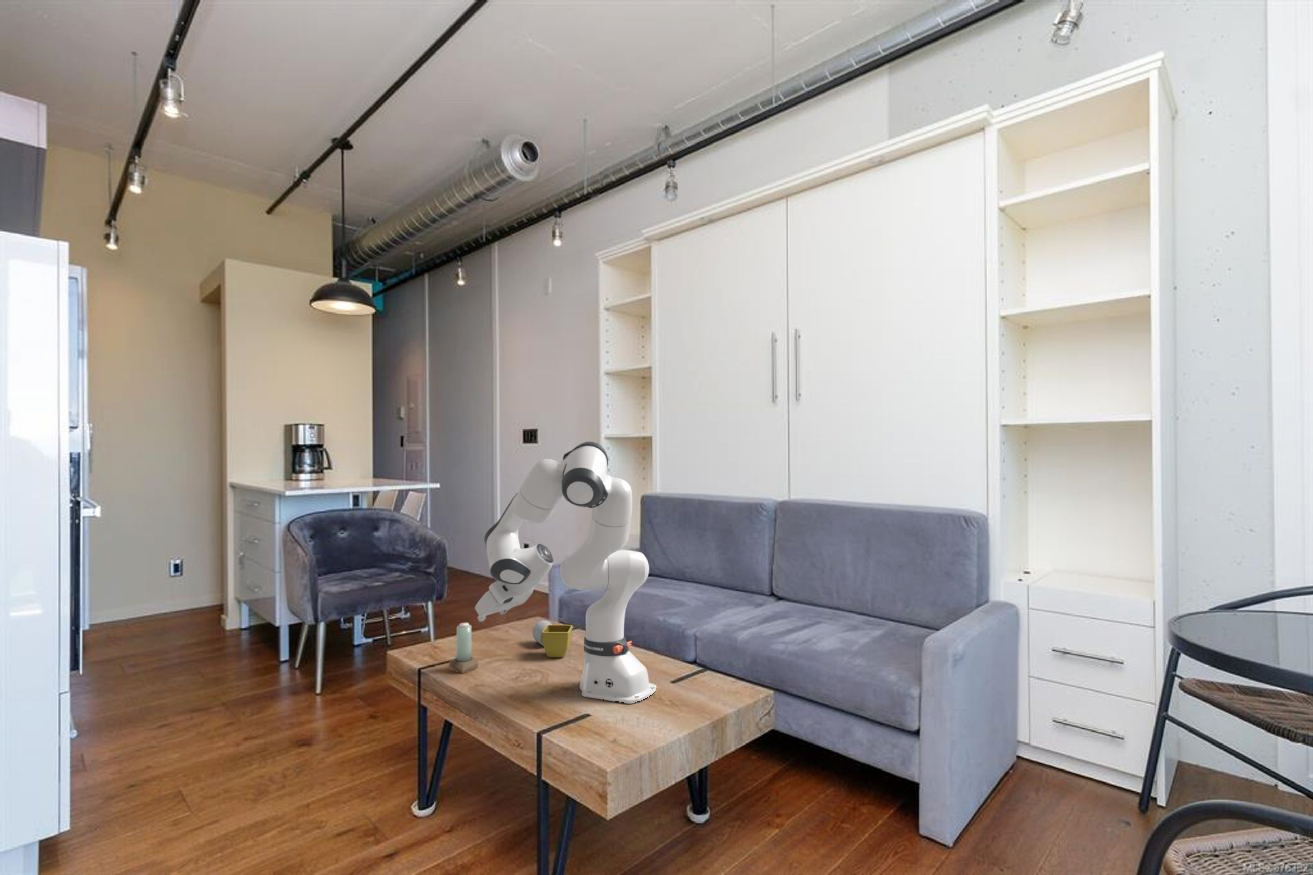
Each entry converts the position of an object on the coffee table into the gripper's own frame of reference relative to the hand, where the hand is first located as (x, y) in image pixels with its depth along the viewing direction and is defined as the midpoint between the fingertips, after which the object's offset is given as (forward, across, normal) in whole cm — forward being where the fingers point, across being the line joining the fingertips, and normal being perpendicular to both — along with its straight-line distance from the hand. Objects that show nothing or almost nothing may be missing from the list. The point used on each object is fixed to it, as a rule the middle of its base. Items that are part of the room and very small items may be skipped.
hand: (491, 616), depth 199 cm
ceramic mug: (+13, -31, +11) cm, 36 cm away
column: (+16, +2, +4) cm, 16 cm away
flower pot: (+6, -22, +18) cm, 29 cm away
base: (+18, +3, +6) cm, 19 cm away
